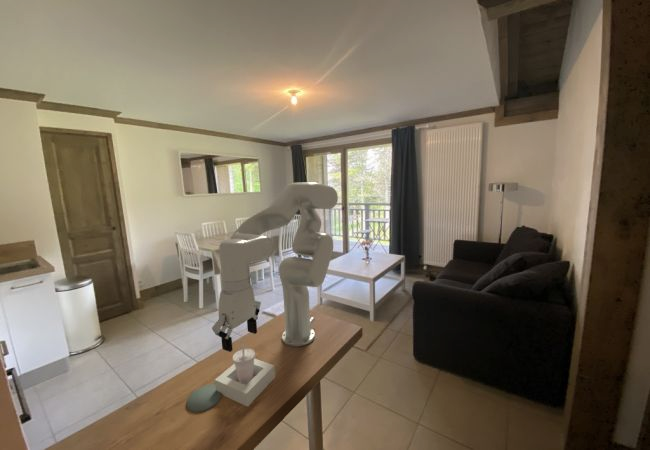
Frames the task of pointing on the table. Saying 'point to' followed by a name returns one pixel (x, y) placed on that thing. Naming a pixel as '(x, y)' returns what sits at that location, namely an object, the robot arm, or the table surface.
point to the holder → (250, 391)
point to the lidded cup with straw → (244, 364)
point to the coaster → (203, 398)
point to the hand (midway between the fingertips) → (240, 340)
